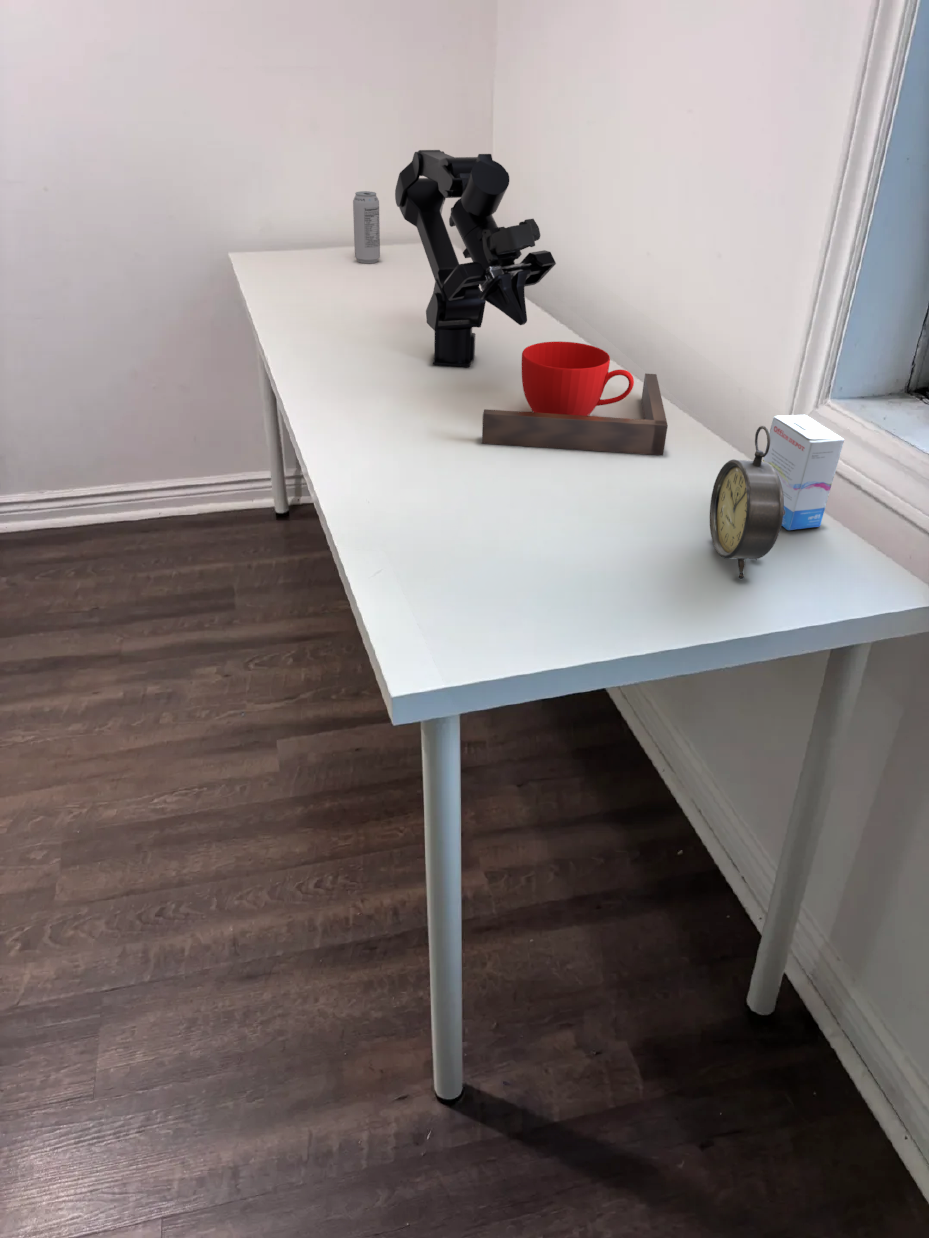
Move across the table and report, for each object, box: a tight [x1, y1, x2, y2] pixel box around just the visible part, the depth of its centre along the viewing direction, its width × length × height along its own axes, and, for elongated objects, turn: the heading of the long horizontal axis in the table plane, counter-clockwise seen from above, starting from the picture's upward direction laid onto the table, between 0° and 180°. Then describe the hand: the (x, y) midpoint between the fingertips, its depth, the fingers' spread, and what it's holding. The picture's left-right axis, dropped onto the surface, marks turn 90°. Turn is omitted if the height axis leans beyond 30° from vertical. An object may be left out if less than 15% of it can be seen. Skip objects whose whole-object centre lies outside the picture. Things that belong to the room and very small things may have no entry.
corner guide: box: [481, 372, 668, 456], centre depth 143 cm, size 26×22×4 cm
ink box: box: [762, 414, 845, 531], centre depth 116 cm, size 9×5×12 cm, turn 17°
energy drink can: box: [352, 190, 381, 264], centre depth 222 cm, size 6×6×15 cm
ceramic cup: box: [521, 341, 635, 416], centre depth 141 cm, size 13×17×10 cm
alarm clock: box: [709, 425, 784, 580], centre depth 105 cm, size 11×5×16 cm, turn 5°
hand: (523, 323), depth 145 cm, fingers closed
